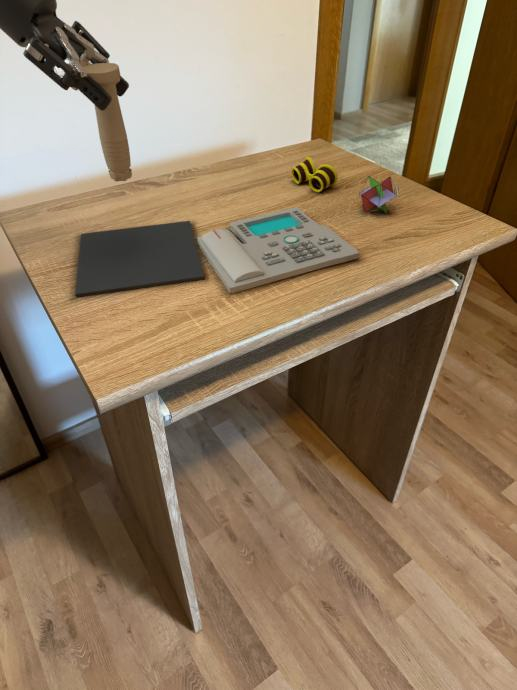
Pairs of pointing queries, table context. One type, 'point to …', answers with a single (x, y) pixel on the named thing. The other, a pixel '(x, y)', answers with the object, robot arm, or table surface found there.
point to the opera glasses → (314, 175)
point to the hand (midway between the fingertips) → (116, 97)
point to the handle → (111, 122)
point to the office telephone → (272, 249)
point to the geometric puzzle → (378, 194)
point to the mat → (137, 258)
